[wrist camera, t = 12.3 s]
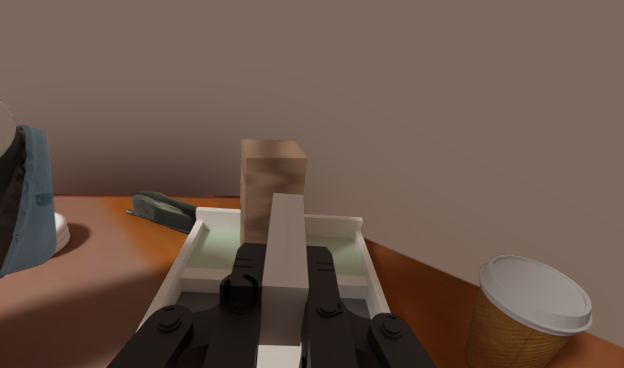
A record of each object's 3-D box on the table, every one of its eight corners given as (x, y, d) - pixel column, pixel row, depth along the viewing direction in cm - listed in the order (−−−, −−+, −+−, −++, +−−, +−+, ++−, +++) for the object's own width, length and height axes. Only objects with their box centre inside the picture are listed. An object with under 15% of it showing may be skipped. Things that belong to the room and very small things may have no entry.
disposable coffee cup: (474, 318, 41) (507, 243, 36) (557, 377, 34) (610, 294, 30) (433, 352, 36) (465, 269, 31) (522, 431, 29) (581, 339, 24)
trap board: (427, 479, 25) (448, 435, 22) (80, 485, 22) (62, 436, 20) (355, 248, 53) (361, 217, 51) (199, 239, 51) (197, 206, 48)
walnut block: (243, 272, 41) (246, 157, 34) (240, 241, 47) (241, 139, 41) (295, 267, 43) (307, 158, 36) (285, 238, 49) (293, 140, 43)
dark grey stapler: (206, 205, 52) (133, 183, 55) (194, 213, 49) (119, 190, 53) (206, 230, 54) (136, 208, 57) (195, 239, 51) (122, 215, 55)
